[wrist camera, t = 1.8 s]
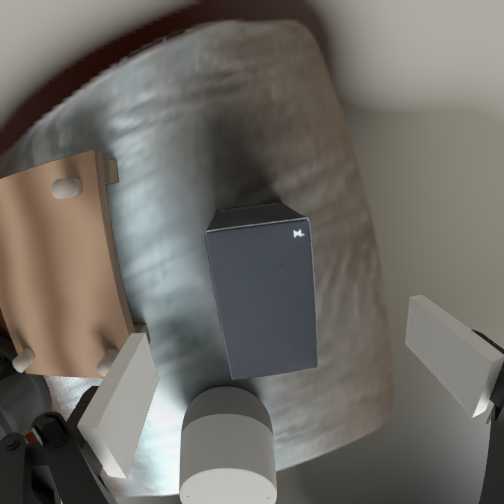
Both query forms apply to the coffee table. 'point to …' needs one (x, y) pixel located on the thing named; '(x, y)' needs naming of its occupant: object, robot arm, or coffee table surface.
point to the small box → (264, 289)
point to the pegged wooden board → (62, 268)
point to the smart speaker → (227, 450)
